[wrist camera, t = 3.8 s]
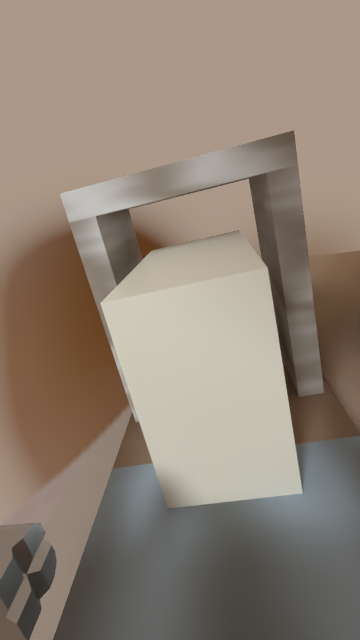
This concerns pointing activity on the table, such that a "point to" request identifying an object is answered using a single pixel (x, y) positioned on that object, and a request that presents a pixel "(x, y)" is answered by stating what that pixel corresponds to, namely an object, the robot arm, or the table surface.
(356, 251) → the table surface
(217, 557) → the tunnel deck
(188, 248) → the cream block
